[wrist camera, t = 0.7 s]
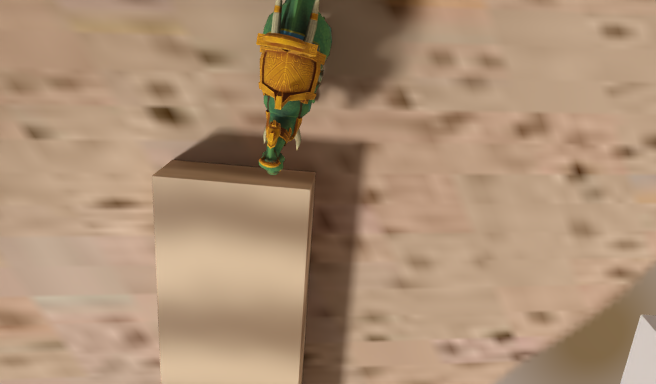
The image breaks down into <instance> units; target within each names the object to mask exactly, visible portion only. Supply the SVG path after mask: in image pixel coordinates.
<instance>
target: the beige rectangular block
mask: <svg viewBox="0 0 656 384" xmlns="http://www.w3.org/2000/svg"><path fill="white" fill-rule="evenodd" d="M315 174H316V172H307V171H295V170H284V169H282V170H281V171H280V172H279V173H278V174H276V175H270V174H268V172H267V170H266V169H264V168H261V167H249V166H237V165H226V164H214V163H203V162H191V161H179V160H172V161H170V162H169V163H168V164H167V165H165V166H164V167H163V168H162V169H160V170H159V171H158V172H156V173H155V174H154V175H153V176H152V188H153V211H154V234H155V257H156V281H157V304H158V327H159V350H160V374H161V384H302V376H303V360H304V345H305V329H306V314H307V298H308V283H309V267H310V252H311V236H312V221H313V205H314V189H315Z"/></svg>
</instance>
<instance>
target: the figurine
mask: <svg viewBox="0 0 656 384" xmlns="http://www.w3.org/2000/svg"><path fill="white" fill-rule="evenodd" d="M319 1H320V0H286V1H285V3H284V4H283V5H282V0H276V4H275V9H274V12H273V13H272V14H271V15H269V17H268V20H267V22H266V24H265V27H264V32H263V34H260V33H258V37H257V43H256V44H257V45H260V52H262V54H261V58H260V82H259V89H261V90H262V92H263V95H264V104H265V106H266V108H267V110H266V117H267V123H266V128H265V131H264V136H263V138H264V144H265V141H266V140H267V150H266V151H265V152H264V153H263V155H262V157H261V158H260V159H259V165H260V166H261V167H262V168H264V169H266V170H267V172H268V174H270V175H276V174H278V173H279V172H280V171H281V170H282V169H283V162H284V160H285V158H284V156H283V155H282V154H281V153H280V151H281V149H282V148H283V146H285V145H286V144H287V142H288V141H292V140H293V139H294V138H295V140H296V150H297V149H298V147H299V145H300V142H301V136H300V130H299V127H300V125H301V122H302V117H303V116H304V115H305V114H307V113H308V112H309V111H310V108H311V104H312V102H313V103H314V102H315V96H316V93H315V92H316V90H317V88H318V86H319V84H320V83H321V81H322V77H323V71H324V68H323V66H322V65H324V63H325V60H326V59H327V57H328V56H329V53H330V48H331V43H332V37H331V28H330V26H329V25H328V24H327V23H326V22H325V17H322V16H321V14H320V13H319Z"/></svg>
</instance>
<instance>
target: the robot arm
mask: <svg viewBox="0 0 656 384" xmlns="http://www.w3.org/2000/svg"><path fill="white" fill-rule="evenodd" d="M621 384H656V316H654V315H641V317H640V320H639V323H638V327H637V330H636V333H635V336H634V340H633V343H632V347H631V350H630V353H629V357H628V360H627V363H626V367H625V370H624V373H623V377H622V380H621Z"/></svg>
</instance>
